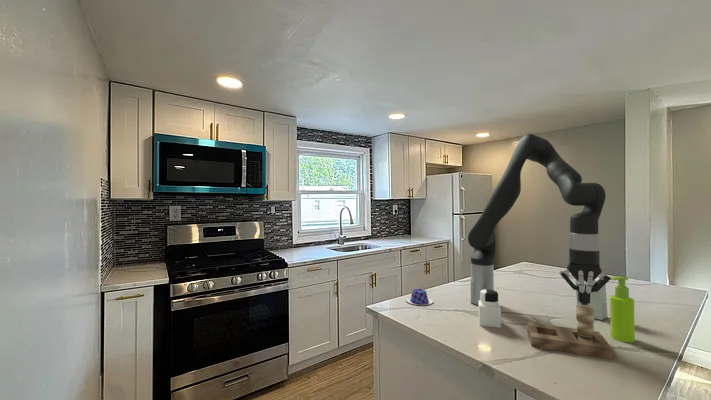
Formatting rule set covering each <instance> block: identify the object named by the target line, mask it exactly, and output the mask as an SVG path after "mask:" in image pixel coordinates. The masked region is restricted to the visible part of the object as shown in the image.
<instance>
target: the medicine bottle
mask: <svg viewBox="0 0 711 400" xmlns="http://www.w3.org/2000/svg"><path fill="white" fill-rule="evenodd" d="M477 307H478V308H477V309H478V312H477V313H478V324H479V326H481V327H488V328H496V329H497V328H498V329H501V328H502V308H501V305H500V302H499V293H498V291H496V290H495V289H494V290H490V289H484V290H481V291H480V300H479V301H478V305H477Z"/></svg>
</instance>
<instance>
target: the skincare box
mask: <svg viewBox="0 0 711 400" xmlns="http://www.w3.org/2000/svg"><path fill="white" fill-rule="evenodd" d="M598 280H599V277H597V278H596V279H595V280H594V281H592V286H593V285H594V284H595V283H596V282H597V281H598ZM574 281H575V285H576V286H577V282H576V279H575V278H574ZM606 285H607V284H605V285H604V286H603V287H602V288H601V289H600V290H599V291H598V292H591V294H590V304H589V303H588V305H585V306H590V307H592V308H594V320H595V319H596V320H601V321H603V320H604V319H606V318H607V317H608V303H607V286H606ZM575 295H576V306H577V305H582V304H581V303H580V302H579V301H578V291H577V290H575Z"/></svg>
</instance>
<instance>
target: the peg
mask: <svg viewBox="0 0 711 400" xmlns="http://www.w3.org/2000/svg"><path fill="white" fill-rule="evenodd" d="M575 309H576V313H575V315H576V323H577V324H576V325H577V326H576V329H577V332H578V339H580V340H587V341H593V336H594V331H595V330H594V328H595V327H594V323H595V318H594V308H592V307H590V306H585V305H577V304H576V308H575Z"/></svg>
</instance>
